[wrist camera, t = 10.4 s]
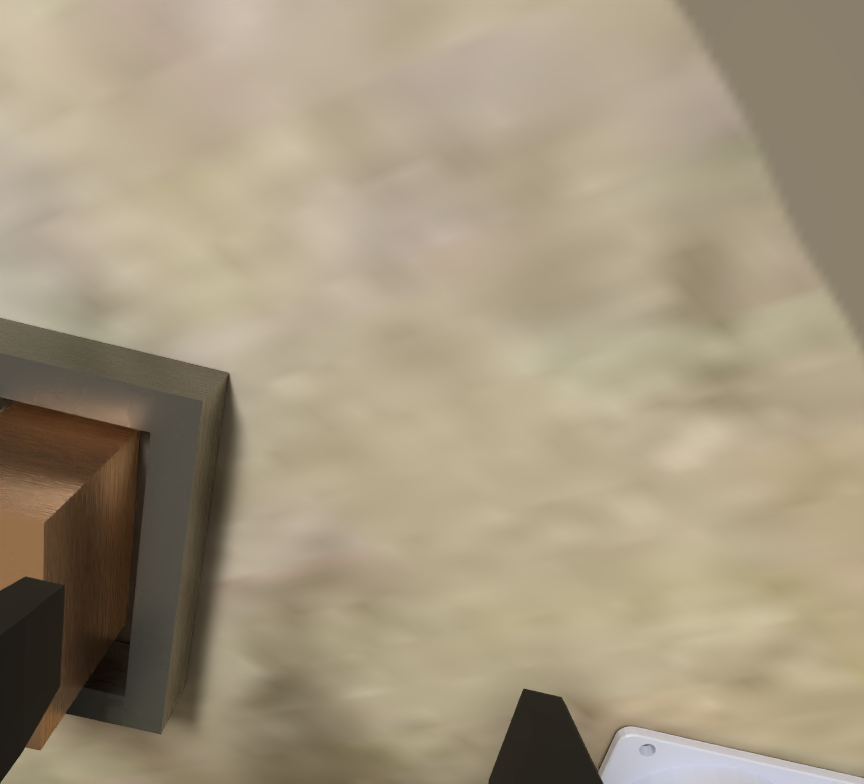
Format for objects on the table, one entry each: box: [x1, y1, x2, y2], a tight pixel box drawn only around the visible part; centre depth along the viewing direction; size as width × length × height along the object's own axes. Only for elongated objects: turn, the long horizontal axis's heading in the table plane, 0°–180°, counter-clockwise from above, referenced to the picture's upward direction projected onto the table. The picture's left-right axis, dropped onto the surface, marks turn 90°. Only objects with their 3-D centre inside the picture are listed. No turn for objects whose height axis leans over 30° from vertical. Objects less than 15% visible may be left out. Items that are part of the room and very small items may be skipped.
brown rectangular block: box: [0, 402, 140, 750], centre depth 19 cm, size 7×4×5 cm, turn 167°
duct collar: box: [0, 318, 229, 734], centre depth 20 cm, size 8×11×2 cm
